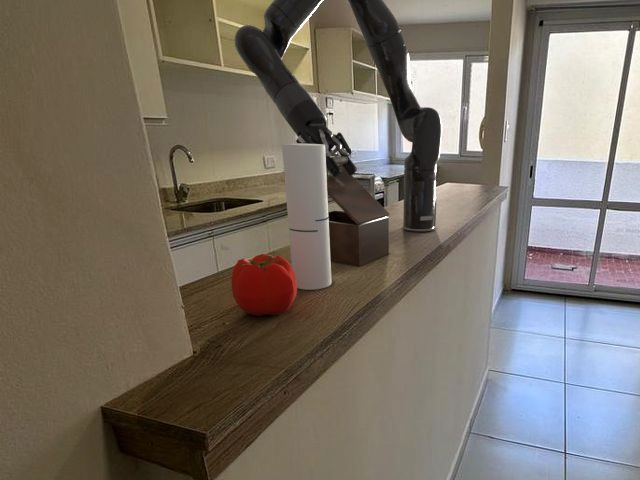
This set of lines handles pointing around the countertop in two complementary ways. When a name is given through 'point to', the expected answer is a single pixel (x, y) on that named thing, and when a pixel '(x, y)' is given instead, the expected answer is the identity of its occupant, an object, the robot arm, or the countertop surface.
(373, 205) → the lid
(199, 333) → the countertop surface
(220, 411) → the countertop surface
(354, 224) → the chest
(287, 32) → the robot arm
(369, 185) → the coffee box
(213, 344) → the countertop surface
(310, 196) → the cylindrical container
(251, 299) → the tomato
